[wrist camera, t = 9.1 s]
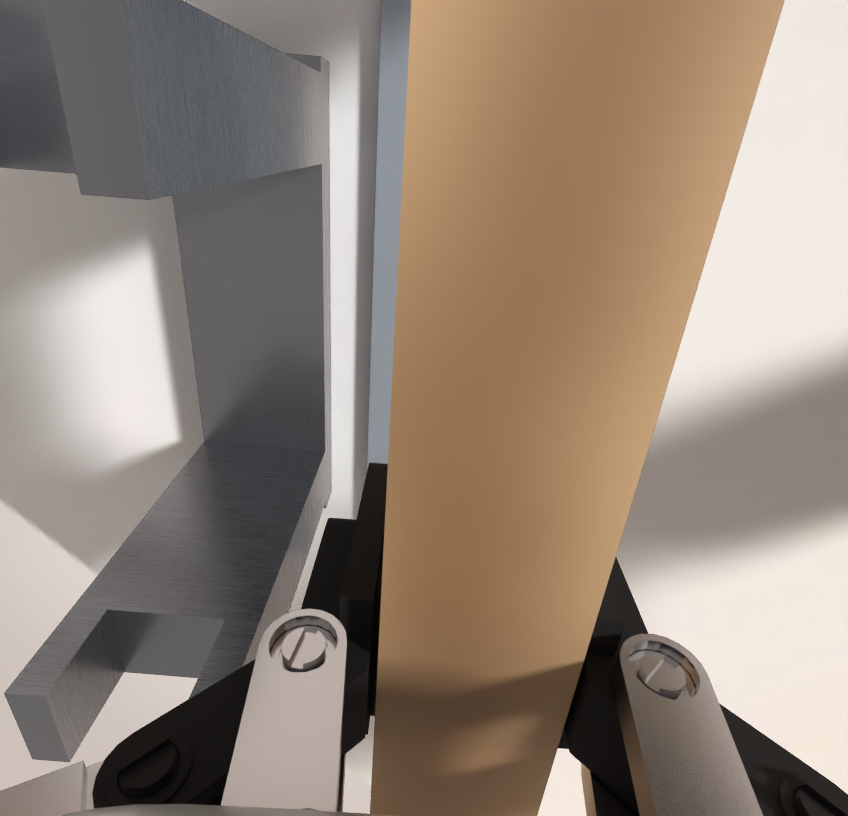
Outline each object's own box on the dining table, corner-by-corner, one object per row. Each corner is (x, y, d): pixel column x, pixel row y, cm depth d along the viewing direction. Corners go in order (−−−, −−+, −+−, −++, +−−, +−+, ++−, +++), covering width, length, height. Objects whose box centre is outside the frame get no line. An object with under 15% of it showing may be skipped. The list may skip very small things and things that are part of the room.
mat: (614, -51, 19) (619, -57, 18) (502, 561, 31) (503, 568, 31) (385, -70, 19) (383, -76, 18) (365, 550, 31) (364, 557, 31)
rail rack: (328, 61, 20) (106, -84, 7) (331, 491, 29) (236, 785, 16) (172, 49, 20) (-348, -121, 7) (222, 482, 29) (36, 768, 16)
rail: (728, -289, 6) (990, -677, 3) (471, 868, 16) (477, 1011, 14) (444, -315, 6) (447, -730, 3) (373, 861, 16) (360, 1003, 14)
